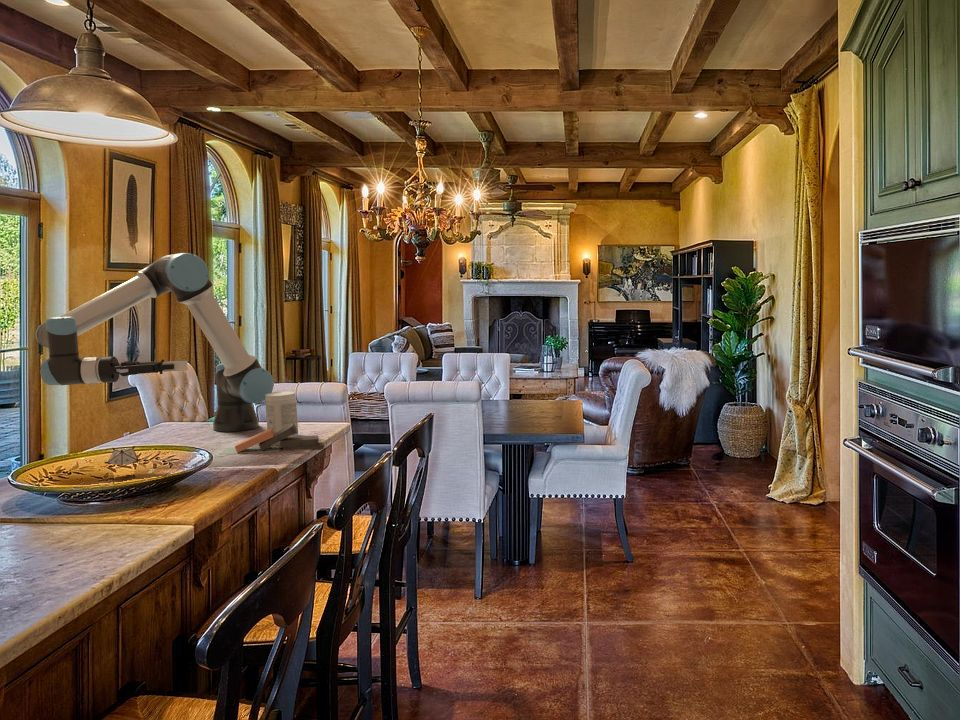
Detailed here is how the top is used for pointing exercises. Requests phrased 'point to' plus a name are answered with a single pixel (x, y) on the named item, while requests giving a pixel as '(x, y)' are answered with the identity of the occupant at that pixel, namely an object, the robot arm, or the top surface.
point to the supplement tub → (281, 411)
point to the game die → (123, 456)
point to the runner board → (251, 450)
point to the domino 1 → (255, 440)
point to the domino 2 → (278, 436)
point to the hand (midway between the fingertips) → (186, 365)
